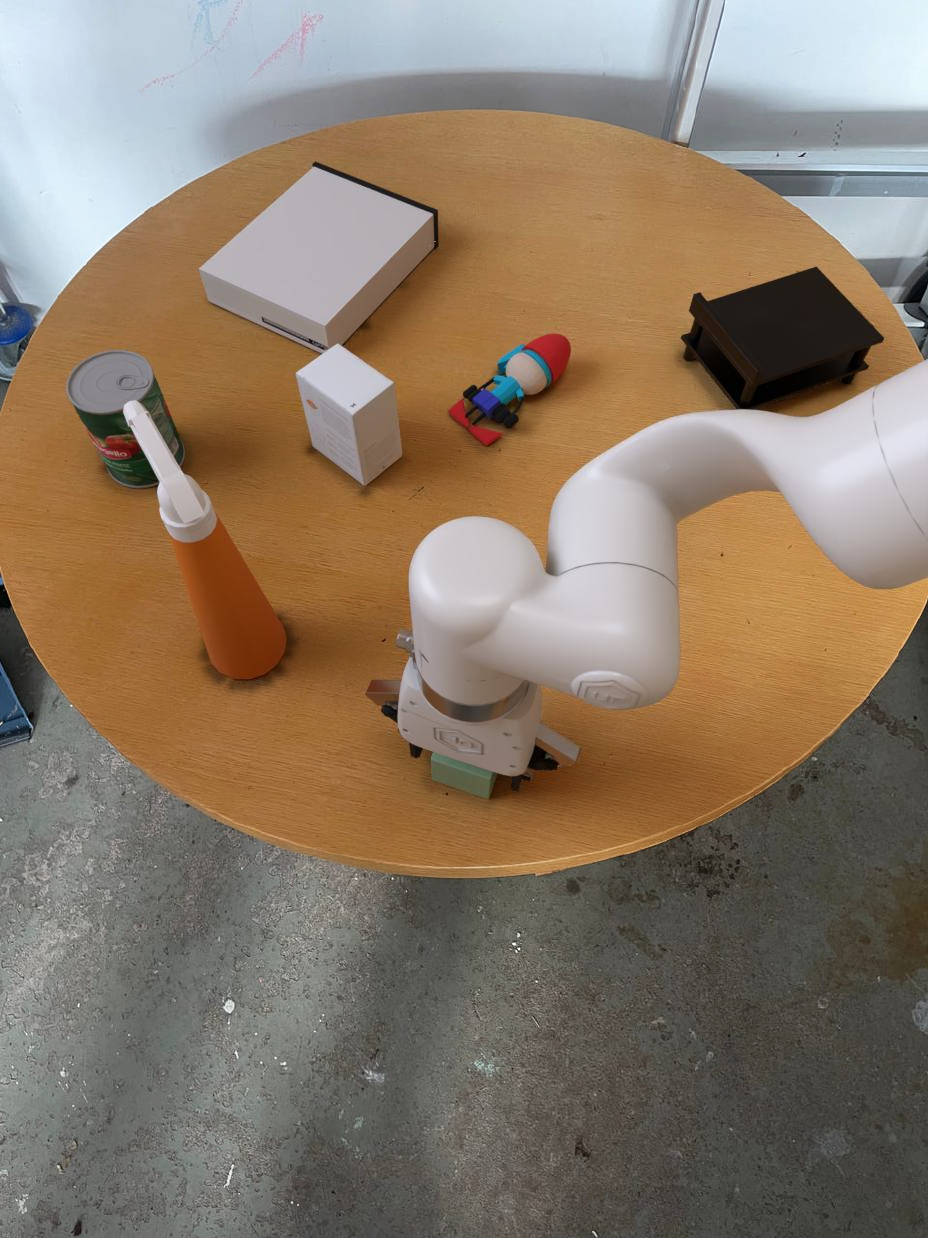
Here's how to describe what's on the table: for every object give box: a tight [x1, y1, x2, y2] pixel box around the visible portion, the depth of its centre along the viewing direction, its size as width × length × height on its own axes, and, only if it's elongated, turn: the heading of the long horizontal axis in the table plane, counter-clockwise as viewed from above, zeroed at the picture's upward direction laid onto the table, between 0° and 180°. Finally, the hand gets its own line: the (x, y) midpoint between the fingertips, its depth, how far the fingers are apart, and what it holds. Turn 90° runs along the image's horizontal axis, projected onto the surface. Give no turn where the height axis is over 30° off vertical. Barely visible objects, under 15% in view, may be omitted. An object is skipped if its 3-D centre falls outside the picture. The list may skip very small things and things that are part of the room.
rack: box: [680, 266, 885, 410], centre depth 92 cm, size 16×12×8 cm
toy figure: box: [447, 333, 572, 447], centre depth 92 cm, size 8×5×15 cm
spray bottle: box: [123, 400, 288, 680], centre depth 68 cm, size 7×11×26 cm, turn 33°
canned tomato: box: [65, 349, 186, 489], centre depth 84 cm, size 8×8×11 cm
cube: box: [429, 752, 499, 800], centre depth 71 cm, size 5×5×5 cm
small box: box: [295, 344, 403, 487], centre depth 85 cm, size 8×6×10 cm
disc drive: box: [198, 161, 440, 355], centre depth 101 cm, size 18×22×5 cm
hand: (470, 757), depth 72 cm, fingers open, 8 cm apart
